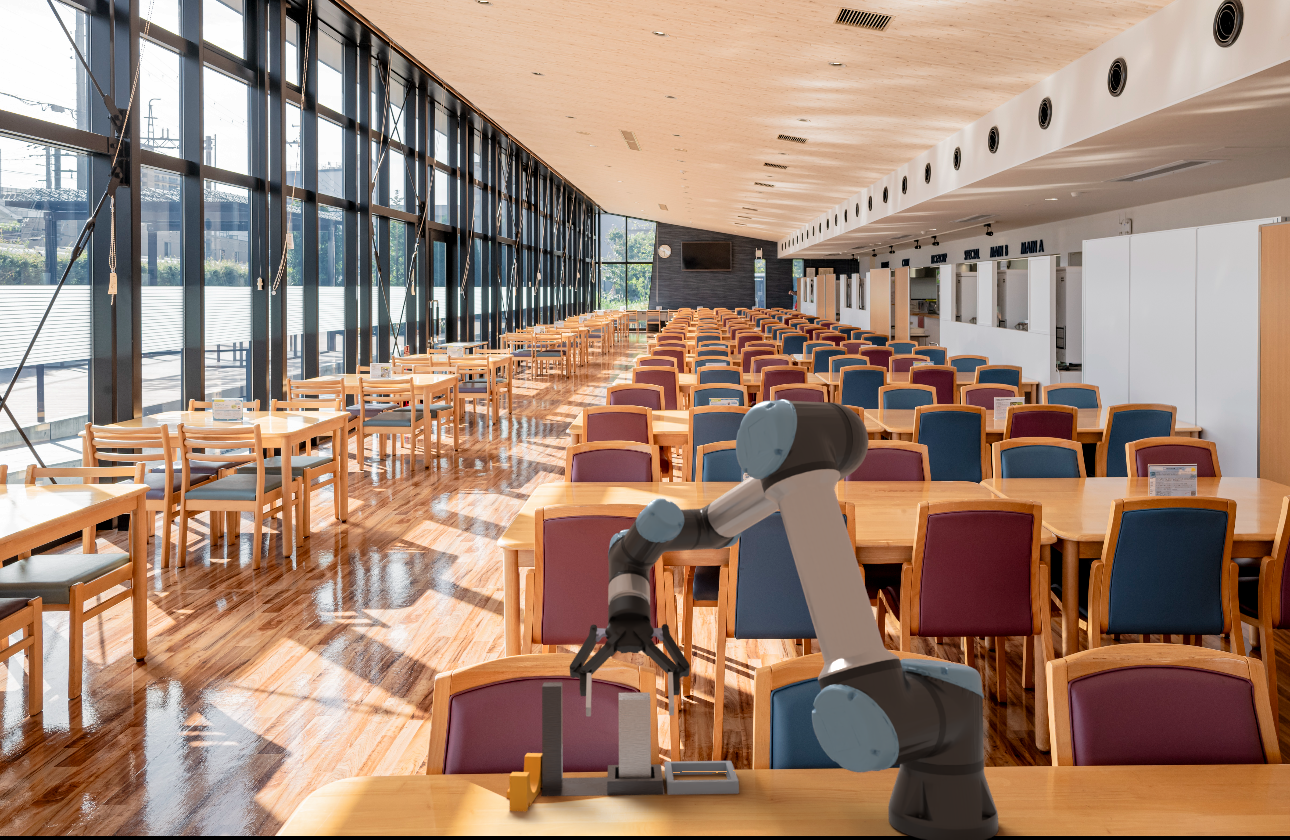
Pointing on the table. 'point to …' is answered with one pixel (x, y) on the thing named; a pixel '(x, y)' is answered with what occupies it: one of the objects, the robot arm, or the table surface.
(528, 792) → the pipe clamp
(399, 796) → the table surface
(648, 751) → the light grey tall block
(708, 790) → the parts tray
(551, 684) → the dark grey post stand
